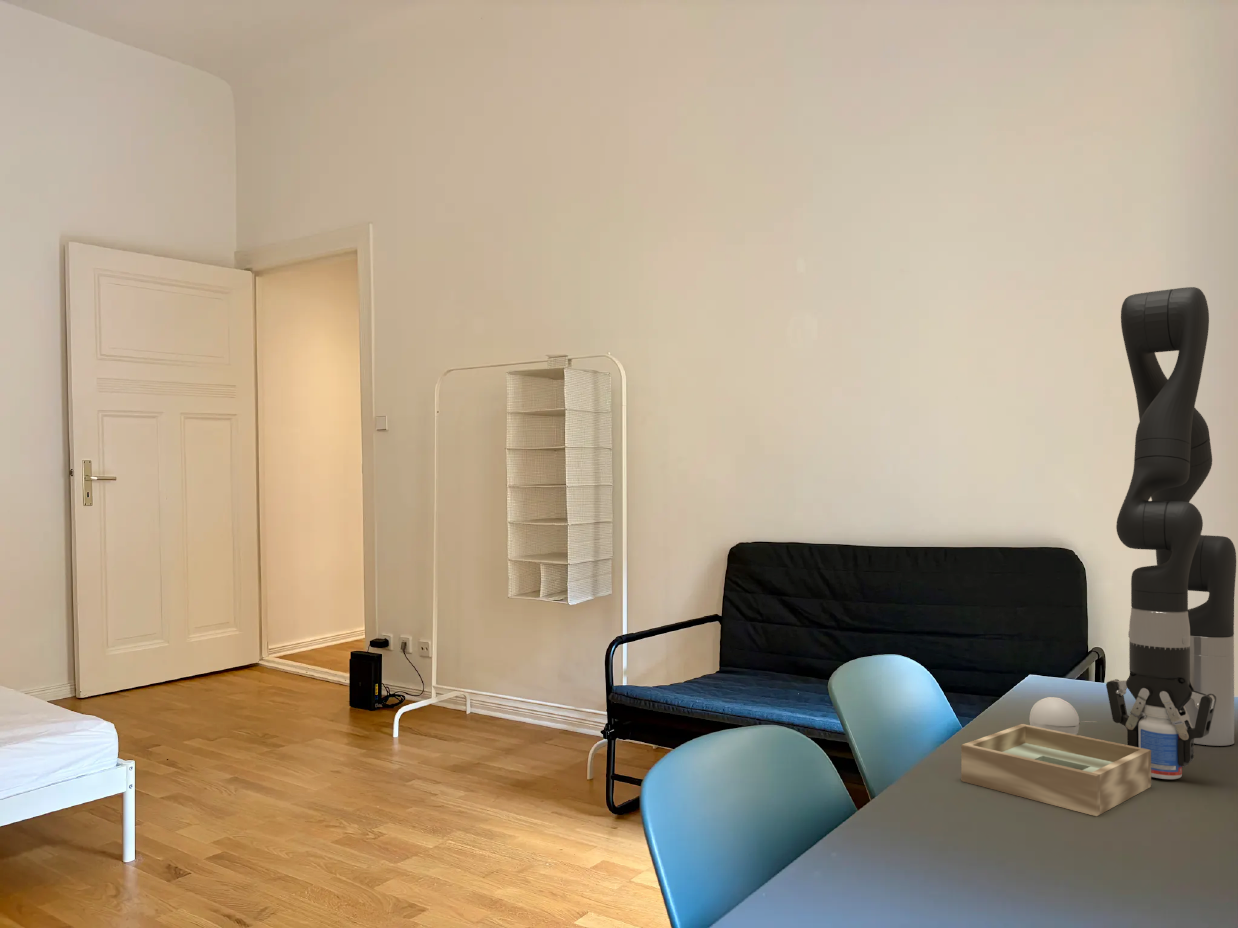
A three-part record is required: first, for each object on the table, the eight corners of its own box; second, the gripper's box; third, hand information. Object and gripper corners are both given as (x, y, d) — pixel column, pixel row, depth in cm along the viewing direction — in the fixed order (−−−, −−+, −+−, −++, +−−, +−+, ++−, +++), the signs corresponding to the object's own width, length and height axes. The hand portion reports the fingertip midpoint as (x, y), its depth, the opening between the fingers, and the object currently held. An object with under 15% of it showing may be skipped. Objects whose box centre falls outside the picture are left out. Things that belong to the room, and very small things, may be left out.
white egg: (1029, 747, 148) (1029, 700, 148) (1028, 735, 155) (1028, 690, 155) (1101, 754, 144) (1100, 706, 144) (1096, 742, 151) (1096, 696, 151)
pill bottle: (1188, 781, 130) (1188, 710, 130) (1146, 778, 131) (1145, 708, 132) (1173, 769, 136) (1173, 701, 136) (1133, 767, 137) (1132, 699, 137)
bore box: (1022, 756, 142) (1022, 723, 142) (1151, 786, 129) (1151, 749, 129) (961, 780, 130) (961, 744, 130) (1096, 816, 117) (1096, 775, 117)
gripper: (1225, 644, 131) (1226, 766, 131) (1116, 631, 142) (1116, 744, 141) (1207, 651, 126) (1208, 777, 126) (1095, 637, 137) (1096, 753, 136)
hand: (1159, 759), depth 134 cm, fingers closed on pill bottle, 5 cm apart
